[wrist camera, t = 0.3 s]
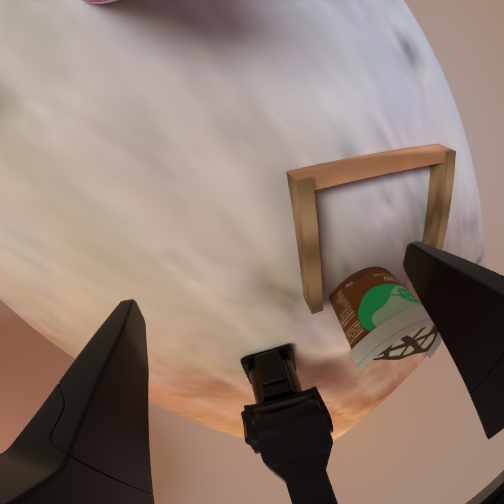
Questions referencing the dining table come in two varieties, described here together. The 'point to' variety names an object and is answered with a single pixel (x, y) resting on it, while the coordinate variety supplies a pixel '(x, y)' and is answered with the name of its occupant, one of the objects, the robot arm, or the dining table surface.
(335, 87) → the dining table surface
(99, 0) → the supplement bottle
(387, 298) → the food container
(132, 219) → the dining table surface
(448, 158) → the bay
